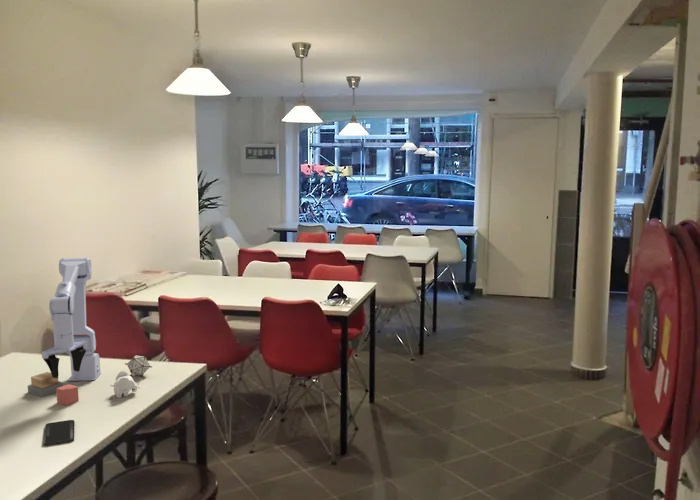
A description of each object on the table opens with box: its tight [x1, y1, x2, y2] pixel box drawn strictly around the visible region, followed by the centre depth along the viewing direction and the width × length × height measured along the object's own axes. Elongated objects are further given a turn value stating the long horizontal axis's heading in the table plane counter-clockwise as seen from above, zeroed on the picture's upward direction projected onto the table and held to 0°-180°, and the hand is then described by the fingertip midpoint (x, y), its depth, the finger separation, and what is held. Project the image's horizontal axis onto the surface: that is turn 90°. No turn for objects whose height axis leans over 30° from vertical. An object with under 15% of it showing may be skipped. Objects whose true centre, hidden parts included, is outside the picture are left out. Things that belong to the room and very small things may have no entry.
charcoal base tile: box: [27, 380, 65, 398], centre depth 214 cm, size 8×8×3 cm
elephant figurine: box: [109, 370, 141, 398], centre depth 210 cm, size 8×10×7 cm
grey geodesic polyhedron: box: [124, 353, 153, 378], centre depth 229 cm, size 9×8×10 cm
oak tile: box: [30, 371, 59, 389], centre depth 213 cm, size 6×6×3 cm
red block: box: [56, 383, 80, 406], centre depth 203 cm, size 5×5×5 cm
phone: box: [42, 419, 75, 447], centre depth 180 cm, size 8×1×15 cm
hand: (66, 374), depth 202 cm, fingers open, 7 cm apart
